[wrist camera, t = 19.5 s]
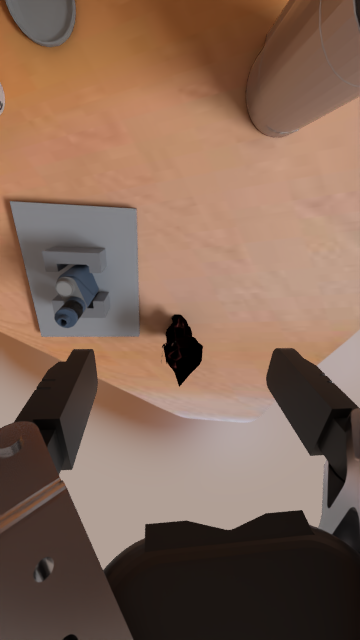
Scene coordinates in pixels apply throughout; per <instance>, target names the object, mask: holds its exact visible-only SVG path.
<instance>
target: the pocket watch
mask: <svg viewBox="0 0 360 640" xmlns="http://www.w3.org/2000/svg"><path fill="white" fill-rule="evenodd" d="M5 1H6V5H7V7H8V9H9V12H10V14H11V15H12V17H13V19H14V21H15V22H16V24H17V25H18V26H19V28H20V29H21V30H22V32H23V33H24V34H26V35H27V36H28V38H30V39H31V40H33V41H34V42H35V43H37V44H39V45H41V46H46V47H55V46H59V45H61V44H62V43H64V42H65V41H66V40H67V39H68V38H69V37H70V35H71V33H72V31H73V27H74V24H75V17H76V6H75V0H5Z"/></svg>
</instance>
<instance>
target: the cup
mask: <svg viewBox="0 0 360 640" xmlns="http://www.w3.org/2000/svg"><path fill="white" fill-rule="evenodd" d="M4 106H5V95H4V91H3V88H2V85H1V83H0V115H1V113H2V112H3V110H4Z"/></svg>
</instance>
